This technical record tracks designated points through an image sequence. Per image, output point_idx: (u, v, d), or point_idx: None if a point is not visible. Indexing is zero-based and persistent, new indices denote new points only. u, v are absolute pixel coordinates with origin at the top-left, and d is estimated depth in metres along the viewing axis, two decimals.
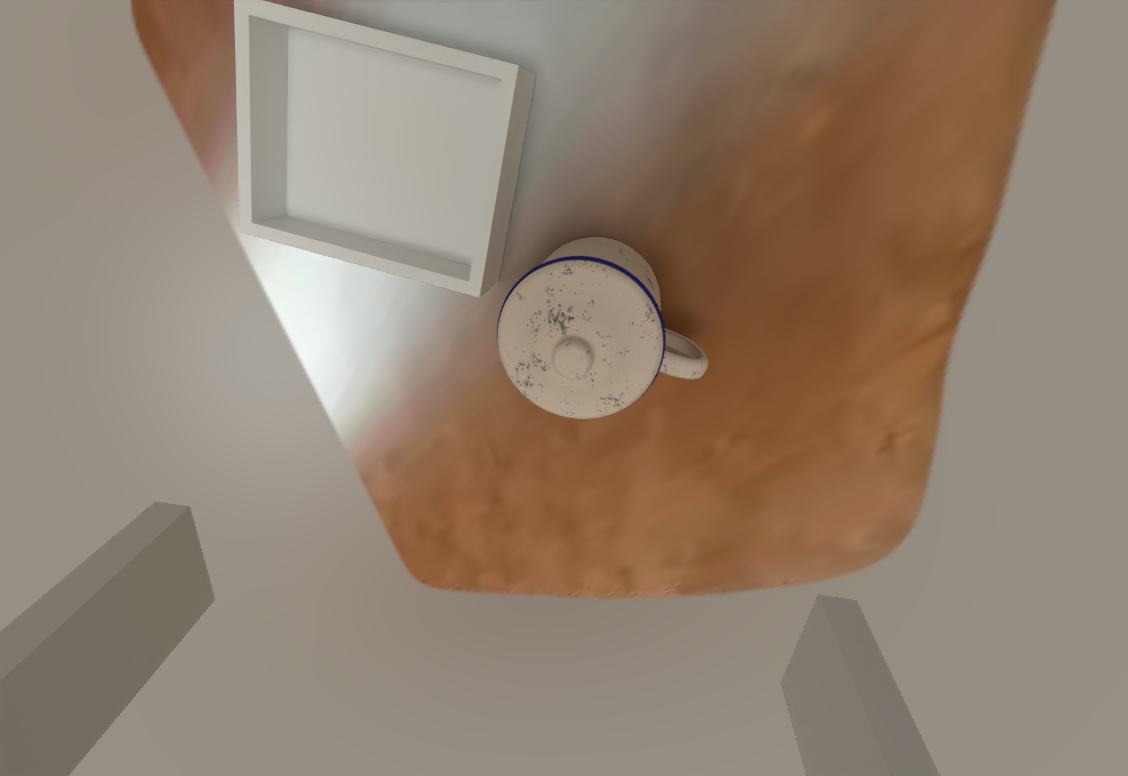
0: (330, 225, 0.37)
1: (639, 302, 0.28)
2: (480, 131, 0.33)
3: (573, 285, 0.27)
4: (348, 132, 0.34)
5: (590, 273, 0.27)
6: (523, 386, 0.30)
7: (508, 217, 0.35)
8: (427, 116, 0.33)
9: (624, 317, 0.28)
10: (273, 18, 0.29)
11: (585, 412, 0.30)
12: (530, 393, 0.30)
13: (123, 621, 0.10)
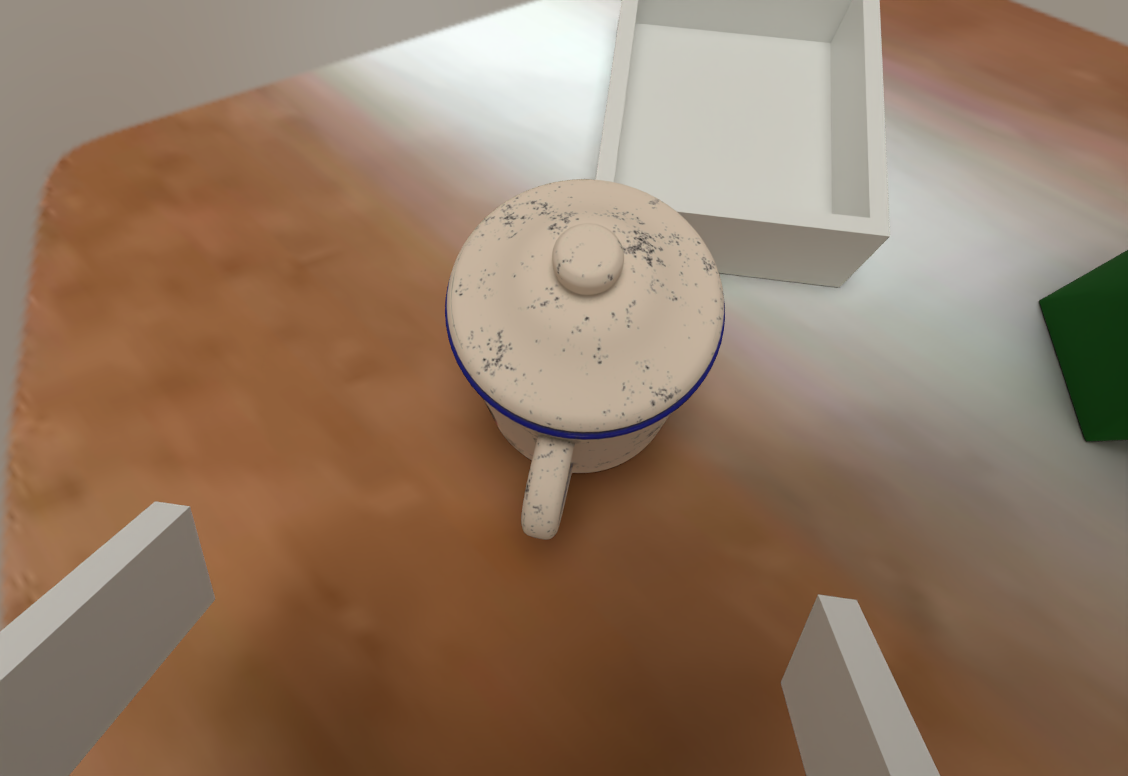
0: (632, 65, 0.31)
1: (680, 376, 0.16)
2: None
3: (691, 272, 0.17)
4: (740, 90, 0.30)
5: (712, 297, 0.17)
6: (502, 214, 0.18)
7: None
8: (776, 168, 0.29)
9: (656, 352, 0.16)
10: (865, 1, 0.27)
11: (465, 314, 0.17)
12: (490, 225, 0.18)
13: (123, 621, 0.10)
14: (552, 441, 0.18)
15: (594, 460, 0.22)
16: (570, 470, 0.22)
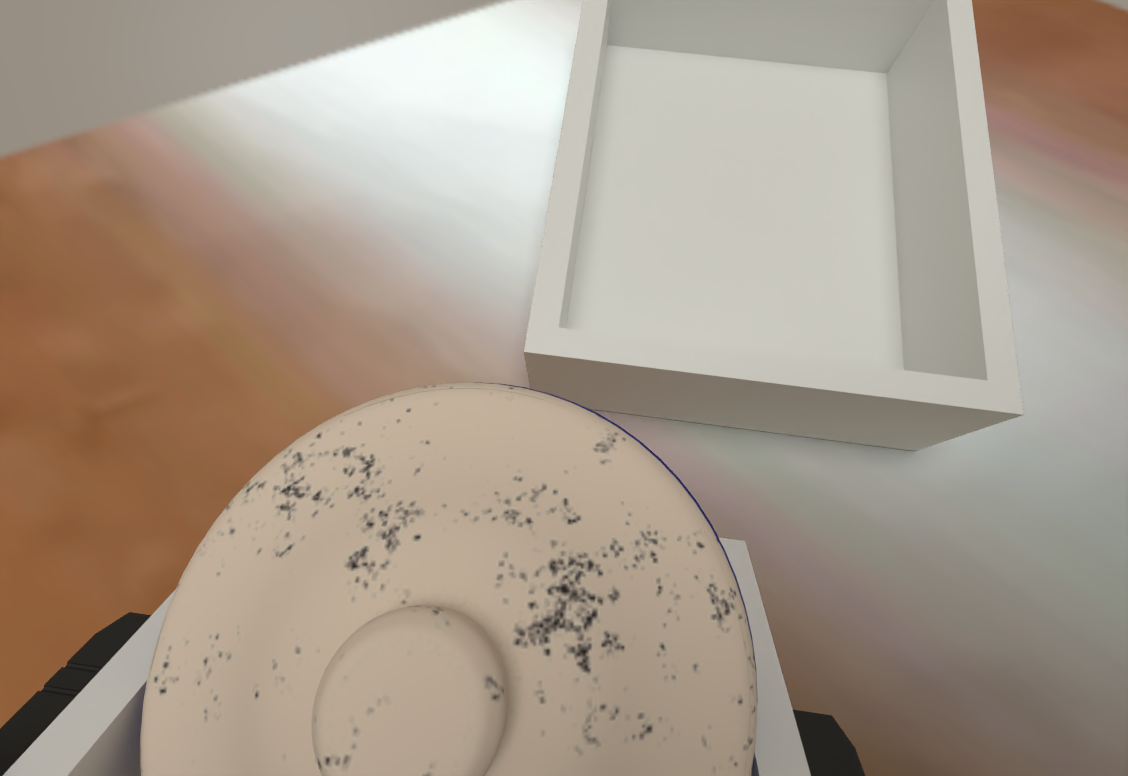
0: (602, 107, 0.21)
1: None
2: (813, 355, 0.18)
3: (684, 635, 0.08)
4: (759, 143, 0.21)
5: (732, 693, 0.08)
6: (280, 479, 0.08)
7: (665, 414, 0.18)
8: (815, 265, 0.19)
9: None
10: (951, 15, 0.18)
11: (164, 748, 0.07)
12: (252, 507, 0.08)
13: None
14: None
15: None
16: None
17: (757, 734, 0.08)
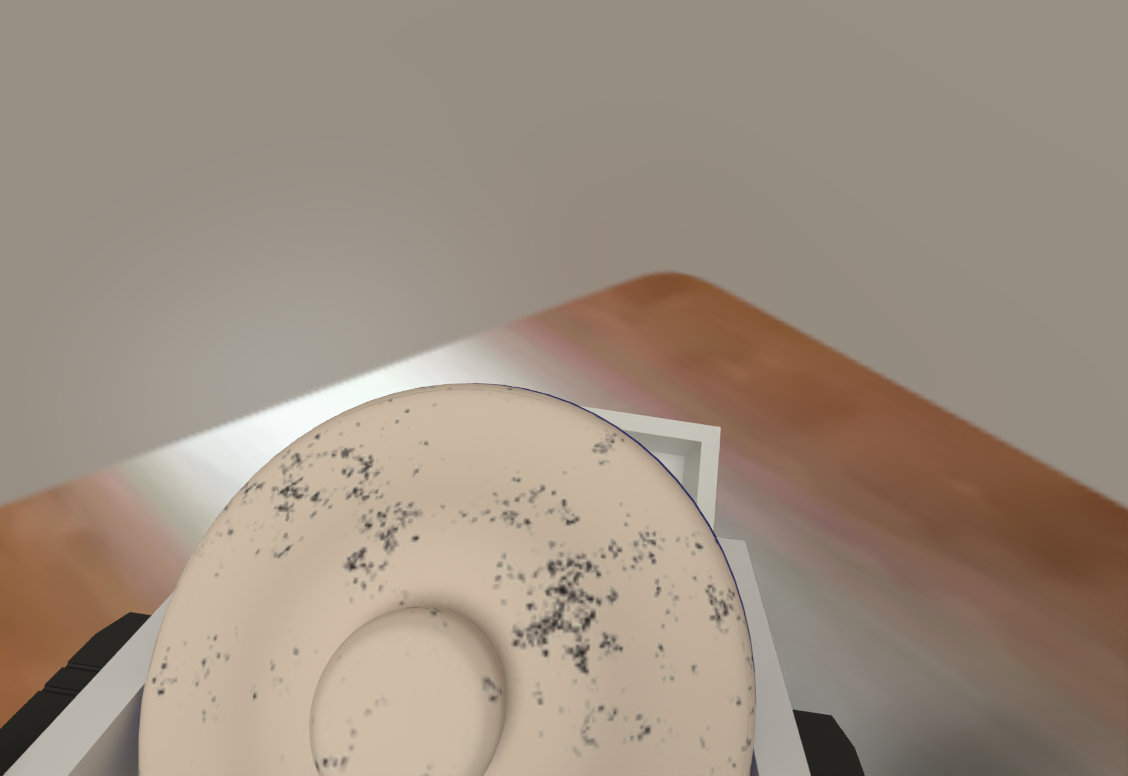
0: None
1: None
2: None
3: (682, 636, 0.08)
4: None
5: (730, 693, 0.08)
6: (279, 479, 0.08)
7: None
8: None
9: None
10: (701, 473, 0.24)
11: (162, 750, 0.07)
12: (251, 507, 0.08)
13: None
14: None
15: None
16: None
17: (756, 734, 0.08)
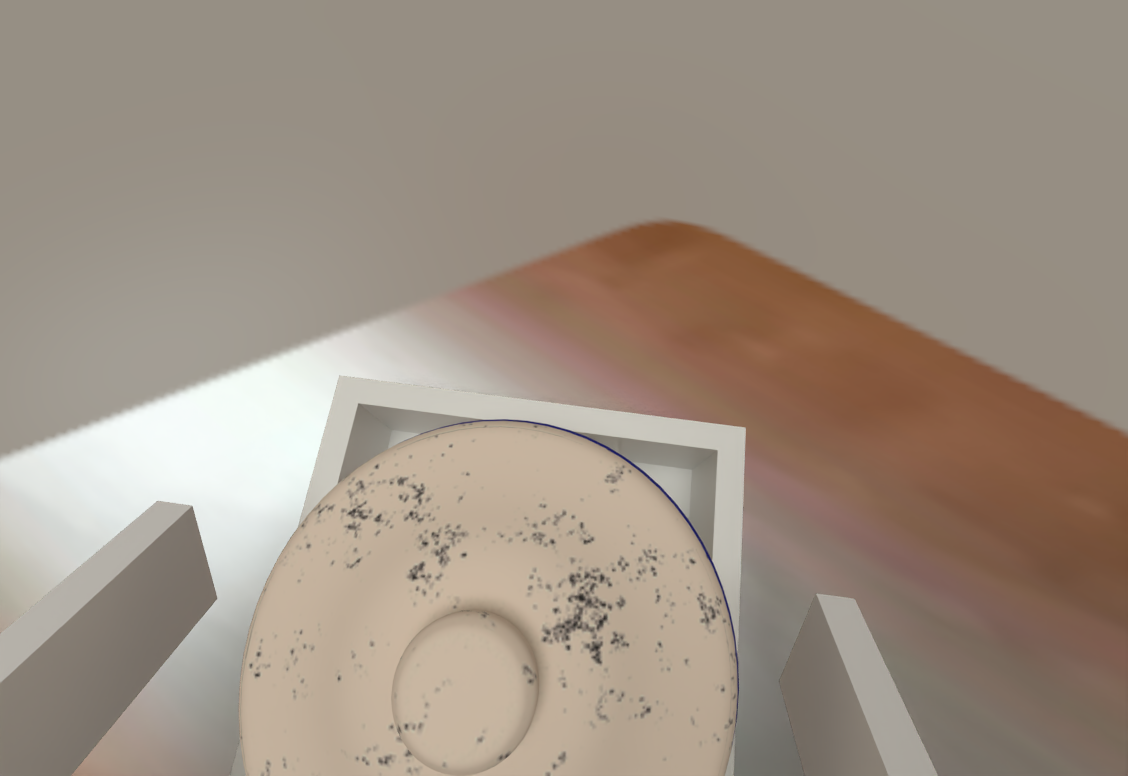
0: None
1: None
2: None
3: (677, 635, 0.09)
4: None
5: (716, 682, 0.09)
6: (346, 503, 0.10)
7: None
8: None
9: None
10: (718, 497, 0.16)
11: (260, 721, 0.09)
12: (324, 526, 0.10)
13: (126, 620, 0.10)
14: None
15: None
16: None
17: None
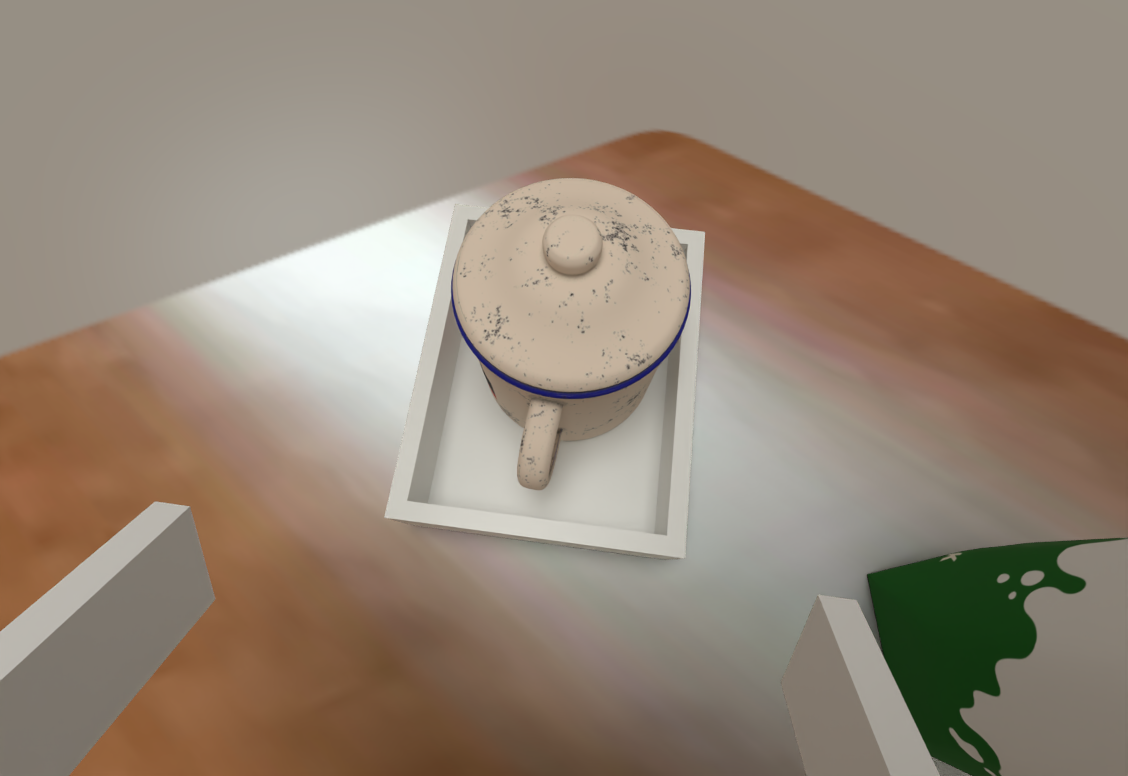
0: None
1: (651, 344, 0.19)
2: (597, 496, 0.27)
3: (661, 257, 0.20)
4: None
5: (679, 278, 0.20)
6: (499, 208, 0.21)
7: (498, 536, 0.27)
8: None
9: (630, 323, 0.19)
10: None
11: (468, 292, 0.20)
12: (489, 217, 0.21)
13: (123, 621, 0.10)
14: (543, 402, 0.21)
15: (581, 425, 0.25)
16: (560, 435, 0.25)
17: None
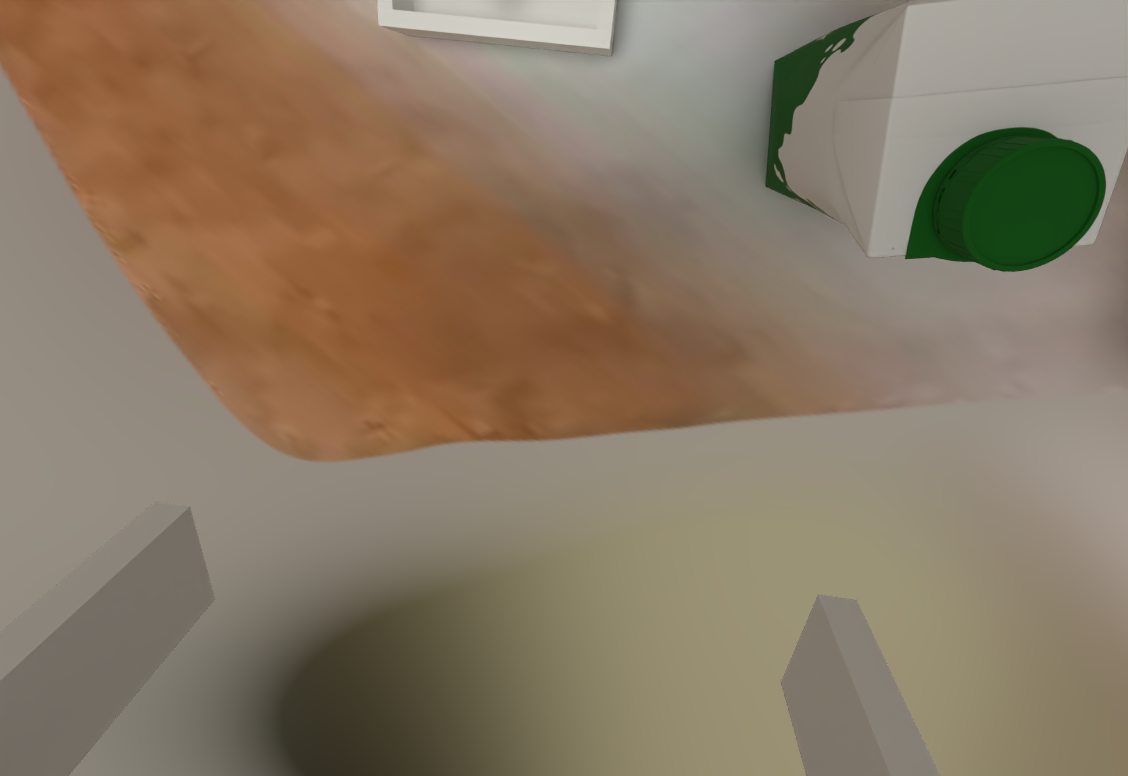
0: None
1: None
2: None
3: None
4: None
5: None
6: None
7: (475, 41, 0.33)
8: None
9: None
10: None
11: None
12: None
13: (123, 621, 0.10)
14: None
15: None
16: None
17: None
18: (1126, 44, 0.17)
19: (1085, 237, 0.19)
